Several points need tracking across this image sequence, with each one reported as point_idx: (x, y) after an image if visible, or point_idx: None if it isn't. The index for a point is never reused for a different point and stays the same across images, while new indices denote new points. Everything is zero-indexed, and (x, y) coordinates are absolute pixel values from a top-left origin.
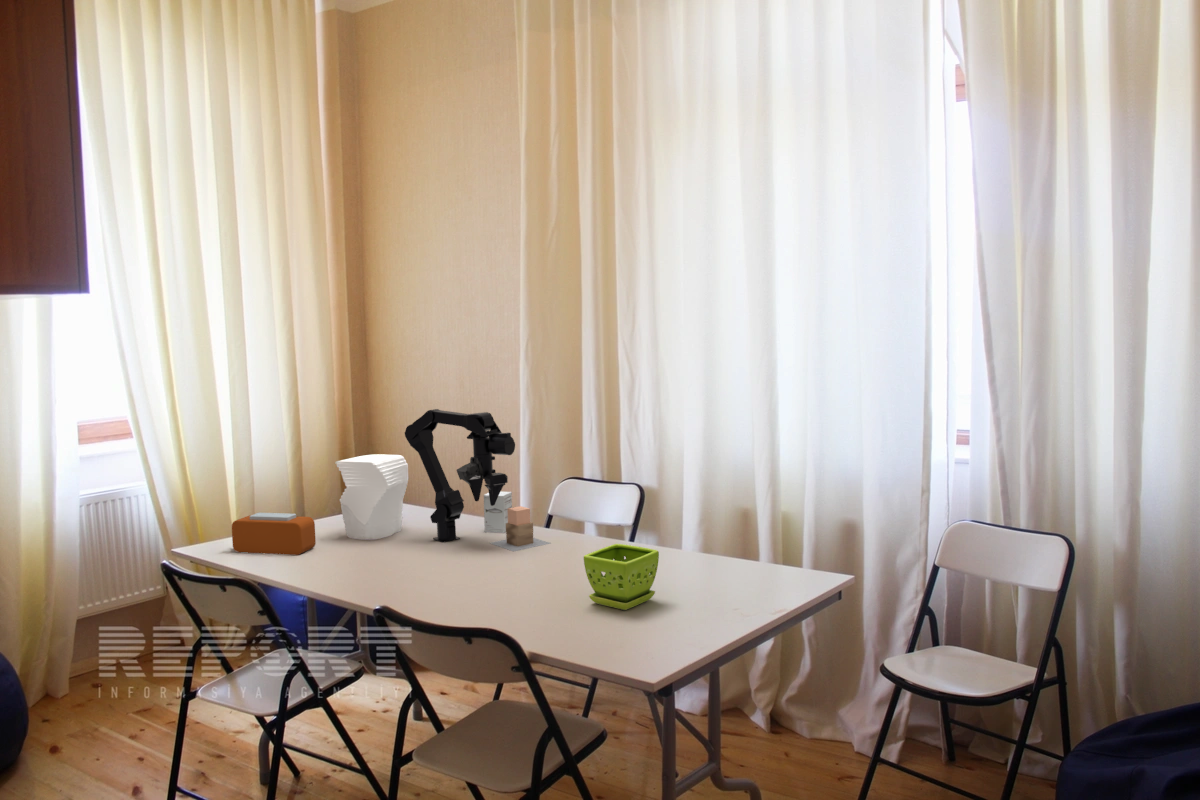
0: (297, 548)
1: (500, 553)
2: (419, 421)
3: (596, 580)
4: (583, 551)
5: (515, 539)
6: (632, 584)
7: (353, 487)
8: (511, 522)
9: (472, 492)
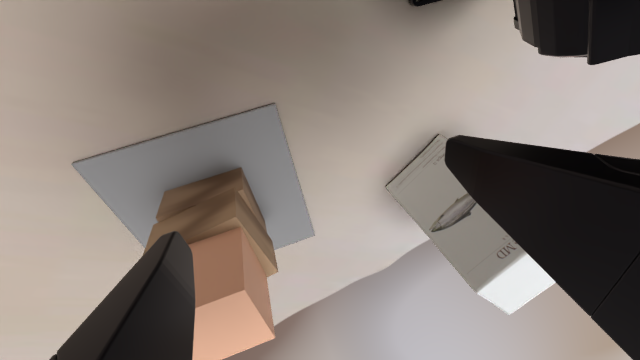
0: None
1: (62, 104)
2: None
3: None
4: (42, 345)
5: (171, 203)
6: None
7: None
8: (206, 243)
9: (558, 153)
